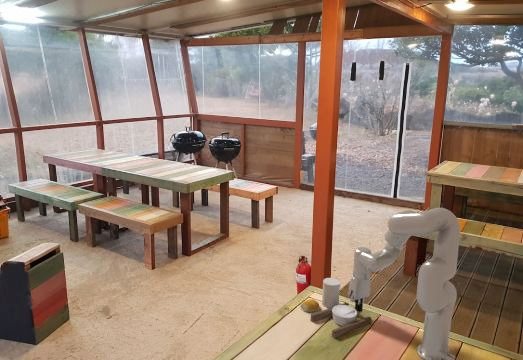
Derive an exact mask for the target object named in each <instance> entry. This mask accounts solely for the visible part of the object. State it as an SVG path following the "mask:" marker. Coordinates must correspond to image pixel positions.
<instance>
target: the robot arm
mask: <svg viewBox="0 0 523 360" xmlns="http://www.w3.org/2000/svg"><path fill="white" fill-rule="evenodd" d="M387 227H388V229H387V230H386V231H385V234H384V240H385V242H386V245H385V246H384V247H383V248H382V249H381V250H378V251H377V252H373V253H372V250H371V249H370V248H368V247H364V246H359V247H356V248H355V249H354V254H353V255H354V256H353V269H352V276H351V277H350V281H349V287H348V292H347V293H348V294H347V295H348V297H349V298H350V299H349V301H350V302H351V303H355V305H354V309H355V310H356V311H357V313H362V312H363V307H364V304H365V300H366V299H367V298H369V296H370V295H371V282H372V281H371V272H372V273H376V272H379V271H381V270H383V269H385V268H388V267H390V266H391V265H392V264H394V263H395V261H396V260H397V259H398V258H399V257H400V255H401V253H402V250H403V248H404V247H403V246H404V245H405V244H406V243H407V241H408V240H409V239H410V238H411V237H412V236H428V235H431V234H434V233H436V237H435V239H434V243H433V254H432V256H431V258H430V259H427V260H426V261H424V262H423V263H421V264H422V265H421V266H420V267H419V269H418V270H419V271H418V276H417V287H416V288H417V289H416V301H417V304H418V306H419V308H420V309H421V310H422V312H425V317H424V324H423V332H422V340H421V343H419V345H418V346H417V348H416V352H417V355H418V356H419V357H421V358H422V359H423V360H456V356H455V355H454V354H452V353H451V348H450V347H449V340H450V339H449V338H450V335H451V334H450V331H451V325H452V318H453V313H454V310H455V309H454V308H455V305H456V301H457V296H458V295H457V288H456V287H455V285H454V284H453V283H452V282H451V281H450V280H451V279H453V278H454V276H455V275H456V273H457V267H458V257H459V246H460V238H461V225H460V221H459V220H458V218H457V217H456V215H455V214H454V213H453V212H452V211H451V210H449V209H446V208H444V207H435V208H431V209H428V210H425V211H422V212H416V211H414V210H410V209H408V210H403V211H400V212H396V213H394V214H391V216H390V217H389V219H388V222H387Z"/></svg>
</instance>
